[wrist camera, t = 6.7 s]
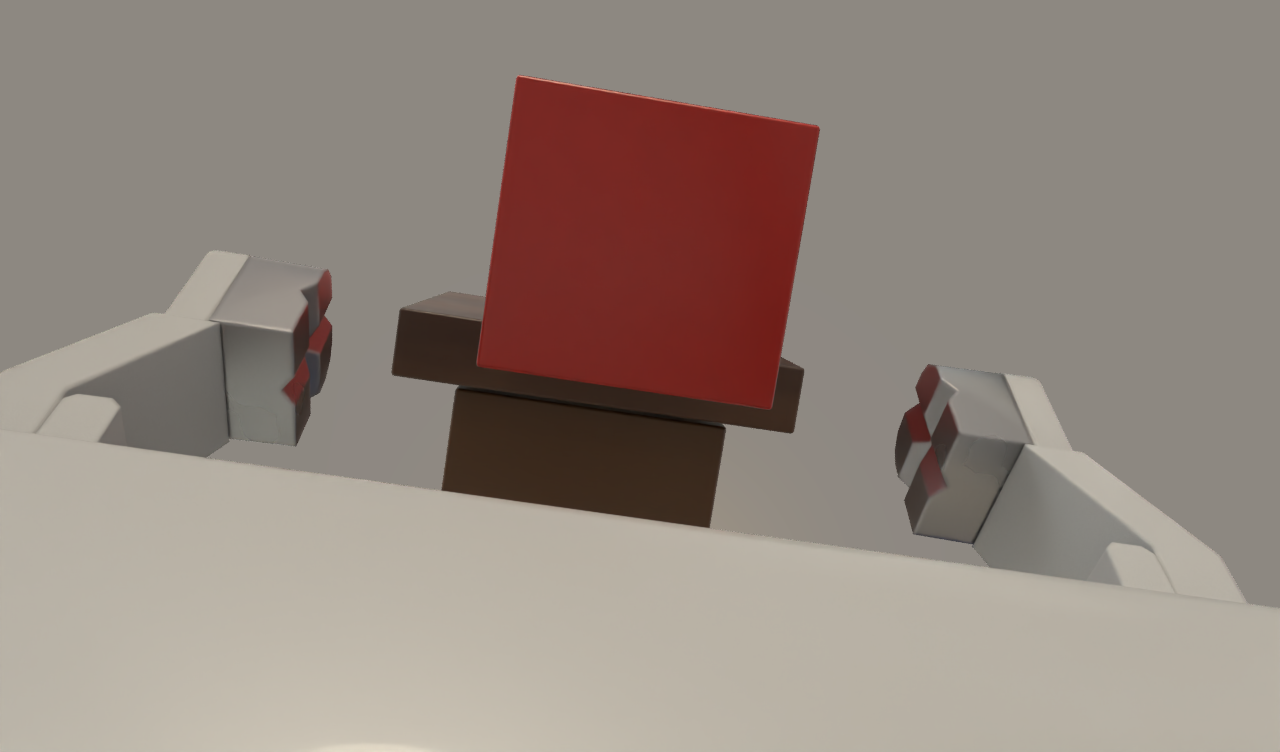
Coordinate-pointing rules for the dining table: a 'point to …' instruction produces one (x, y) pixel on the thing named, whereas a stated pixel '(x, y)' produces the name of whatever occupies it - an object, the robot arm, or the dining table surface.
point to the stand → (573, 427)
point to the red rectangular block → (645, 243)
